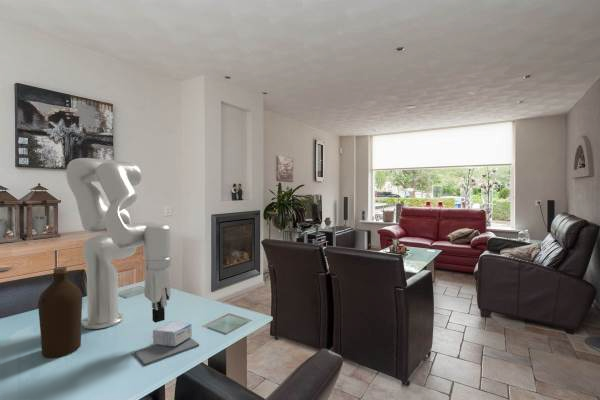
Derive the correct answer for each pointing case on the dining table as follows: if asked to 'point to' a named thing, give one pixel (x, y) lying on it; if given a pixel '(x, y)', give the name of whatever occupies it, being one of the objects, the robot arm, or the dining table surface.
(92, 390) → the dining table surface
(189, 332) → the medicine box
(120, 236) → the robot arm
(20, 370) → the dining table surface
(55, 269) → the olive oil
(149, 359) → the mat
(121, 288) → the dining table surface
